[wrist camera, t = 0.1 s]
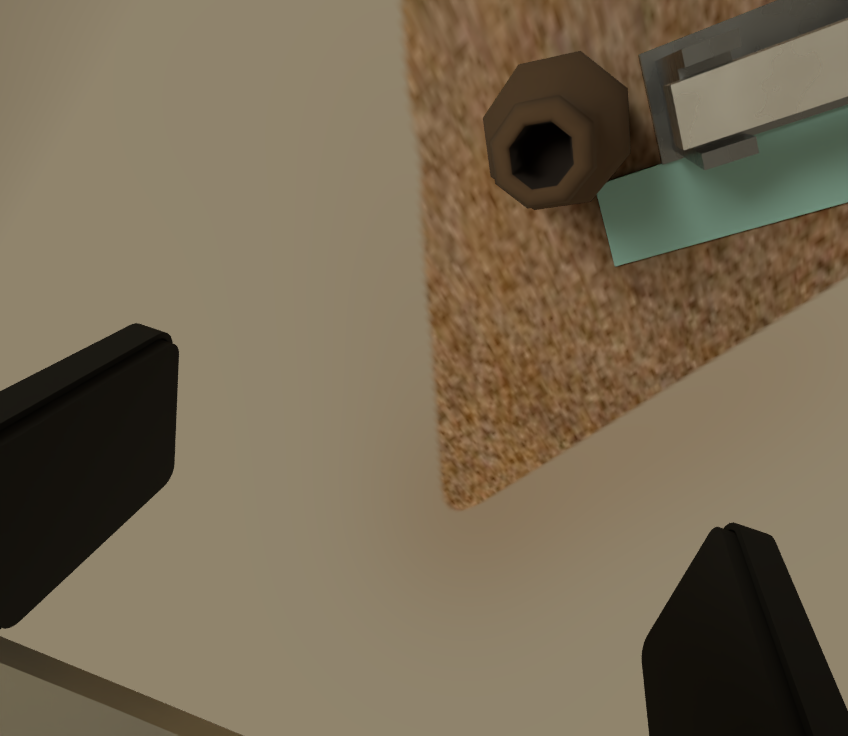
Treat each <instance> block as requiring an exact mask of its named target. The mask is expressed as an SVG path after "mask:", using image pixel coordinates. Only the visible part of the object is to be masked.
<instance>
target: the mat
mask: <svg viewBox="0 0 848 736" xmlns="http://www.w3.org/2000/svg"><path fill="white" fill-rule="evenodd" d="M754 136H756V137H757V144H758V150H759V153H758V154H755V155H752V156H749V157H745V158H742V159H739V160H736V161H733V162H730V163H726V164H723V165H720V166H717V167H714V168H711V169H707V170H703V169H702V168H700V167H699V166H697V165H696V164H694V163H692V162H691V161H689V160H688V159H686V158H682V159H679V160H676V161H673V162H670V163H667V164H664V165H662V164H658V165H655V166H652V167H649V168H646V169H643V170H640V171H637V172H634V173H631V174H628V175H625V176H622V177H619V178H616V179H613V180H610V181H607V182H606V184H605V185H604V186H603V187H602V188H601V190H600V191H599V192H598V193H597V197H598V201H599V205H600V209H601V213H602V217H603V221H604V225H605V229H606V233H607V237H608V241H609V245H610V249H611V253H612V257H613V261H614V265H615V266H619V265H623V264H626V263H630V262H633V261H637V260H641V259H644V258H648V257H651V256H655V255H659V254H662V253H666V252H670V251H673V250H677V249H680V248H684V247H688V246H691V245H695V244H698V243H702V242H706V241H709V240H713V239H717V238H720V237H724V236H727V235H731V234H735V233H738V232H742V231H745V230H749V229H753V228H756V227H760V226H764V225H767V224H771V223H774V222H778V221H782V220H785V219H789V218H792V217H796V216H800V215H803V214H807V213H811V212H814V211H818V210H821V209H825V208H829V207H832V206H836V205H839V204H843V203H847V202H848V105H845V106H842V107H838V108H835V109H832V110H829V111H826V112H823V113H820V114H817V115H814V116H811V117H808V118H805V119H802V120H799V121H796V122H792V123H789V124H786V125H783V126H780V127H777V128H774V129H771V130H768V131H765V132H762V133H759V134H756V135H754Z"/></svg>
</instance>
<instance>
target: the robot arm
mask: <svg viewBox="0 0 848 736" xmlns="http://www.w3.org/2000/svg"><path fill="white" fill-rule="evenodd" d="M178 363H179V351H178V347H177V346H176V345H175V344H172V339H171V336H170V335H169V334H168V333H165V332H162V331H159V330H156V329H153V328H151V327H148V326H145V325H142V324H137V323H135V324H132V325H129V326H127V327H125V328H124V329H122V330H120V331H118V332H116V333H114V334H112V335H110V336H108V337H106V338H104V339H102V340H100V341H98V342H96V343H94V344H92V345H90V346H88V347H87V348H84V349H82V350H80V351H79V352H76V353H75V354H72V355H71V356H69V357H67V358H65V359H63V360H61V361H59V362H57V363H55V364H53V365H51V366H49V367H47V368H45V369H43V370H41V371H39V372H37V373H35V374H33V375H31V376H30V377H28V378H26V379H23V380H22V381H20V382H18V383H16V384H14V385H12V386H10V387H8V388H6V389H4V390H2V391H0V629H1V628H10V627H12V626H14V625H15V624H17V623H18V622H19V621H20V620H22V619H23V617H25V616H26V615H27V614H28V613H29V612H30V611H31V610H32V609H33V608H34V607H35V606H37V604H39V603H40V602H41V601H42V600H43V599H44V598H45V597H46V596H47V595H48V594H49V593H50V592H51V591H52V590H53V589H55V588H56V587H57V586H58V585H59V584H60V583H61V582H62V581H63V580H64V579H65V578H66V577H68V576H69V575H70V574H71V573H72V572H73V571H74V570H75V569H76V568H77V567H78V566H79V565H80V564H81V563H82V562H83V561H85V560H86V559H87V558H88V557H89V556H90V555H91V554H92V553H93V552H94V551H95V550H96V549H97V548H99V547H100V546H101V544H103V543H104V542H105V541H106V540H107V539H108V538H109V537H110V536H111V535H112V534H113V533H115V532H116V531H117V530H118V529H119V528H120V527H121V526H122V525H123V524H124V523H125V522H126V521H127V520H128V519H130V518H131V516H133V515H134V514H135V513H136V512H137V511H138V510H139V509H140V508H141V507H142V506H143V505H144V504H146V503H147V502H148V501H149V500H150V499H151V498H152V497H153V496H154V495H155V494H156V493H157V492H158V491H159V490H161V488H163V487H164V486H165V485H166V483H167V482H168V481H169V479H170V477H171V475H172V473H173V469H174V461H175V460H174V457H175V435H176V410H177V387H178V385H177V384H178ZM642 669H643V677H644V688H645V698H646V707H647V718H648V727H649V736H848V711H847V708H846V706H845V704H844V701H843V699H842V696H841V694H840V692H839V689H838V687H837V685H836V682H835V680H834V678H833V675H832V673H831V671H830V668H829V666H828V663H827V661H826V659H825V656H824V654H823V652H822V649H821V647H820V645H819V642H818V640H817V638H816V635H815V633H814V631H813V628H812V626H811V624H810V622H809V619H808V617H807V614H806V612H805V610H804V607H803V605H802V603H801V600H800V598H799V596H798V593H797V591H796V589H795V586H794V584H793V582H792V579H791V577H790V575H789V573H788V570H787V568H786V565H785V563H784V561H783V558H782V556H781V553H780V551H779V549H778V546H777V544H776V542H775V540H774V538H773V537H772V536H771V535H769V534H766V533H763V532H760V531H757V530H754V529H751V528H749V527H745V526H742V525H740V524H736V523H729V524H728V525H726V526H725V527H724V529H723V528H720V527H715V528H713V529H712V530H711V532H710V533H709V534H708V536H707V538H706V539H705V541H704V543H703V544H702V546H701V548H700V549H699V551H698V553H697V554H696V556H695V558H694V559H693V561H692V562H691V564H690V566H689V567H688V569H687V571H686V572H685V574H684V576H683V577H682V579H681V581H680V582H679V584H678V586H677V587H676V589H675V591H674V592H673V594H672V595H671V597H670V599H669V601H668V602H667V604H666V605H665V607H664V609H663V610H662V612H661V614H660V615H659V617H658V619H657V620H656V622H655V624H654V625H653V627H652V629H651V630H650V632H649V634H648V635H647V637H646V639H645V642H644V645H643V650H642ZM0 736H243V735H241V734H238V733H236V732H233V731H231V730H229V729H226V728H224V727H221V726H219V725H217V724H214V723H212V722H209V721H207V720H204V719H202V718H199V717H197V716H194V715H192V714H190V713H187V712H185V711H182V710H180V709H178V708H175V707H173V706H170V705H168V704H166V703H163V702H161V701H158V700H156V699H153V698H151V697H148V696H145V695H143V694H141V693H139V692H136V691H134V690H131V689H129V688H126V687H124V686H121V685H119V684H116V683H114V682H112V681H109V680H107V679H104V678H102V677H99V676H97V675H94V674H92V673H89V672H87V671H84V670H82V669H80V668H77V667H75V666H72V665H70V664H67V663H65V662H62V661H60V660H57V659H55V658H52V657H50V656H47V655H45V654H43V653H40V652H38V651H35V650H33V649H30V648H28V647H25V646H23V645H20V644H18V643H15V642H13V641H10V640H8V639H6V638H3V637H1V636H0Z"/></svg>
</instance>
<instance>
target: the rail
mask: <svg viewBox="0 0 848 736" xmlns="http://www.w3.org/2000/svg"><path fill="white" fill-rule="evenodd" d="M663 88H664V93H665V98H666V103H667V108H668V113H669V118H670V122H671V127H672V132H673V137H674V142H675V146H677V147H679V148H680V149H682V150H687V149H690V148H693V147H696V146H699V145H702V144H705V143H708V142H711V141H714V140H717V139H720V138H723V137H726V136H729V135H732V134H735V133H738V132H741V131H744V130H747V129H750V128H753V127H756V126H759V125H762V124H765V123H769V122H772V121H775V120H778V119H781V118H784V117H787V116H790V115H793V114H796V113H799V112H802V111H805V110H808V109H811V108H814V107H817V106H820V105H823V104H826V103H829V102H832V101H835V100H838V99H841V98H844V97H847V96H848V18H845V19H843V20H840V21H837V22H835V23H832V24H829V25H826V26H824V27H821V28H818V29H816V30H813V31H810V32H807V33H805V34H802V35H799V36H797V37H794V38H791V39H789V40H786V41H783V42H780V43H778V44H775V45H772V46H770V47H767V48H764V49H762V50H759V51H756V52H753V53H751V54H748V55H745V56H743V57H740V58H737V59H735V60H732V61H729V62H726V63H724V64H721V65H718V66H716V67H713V68H710V69H707V70H705V71H702V72H699V73H697V74H694V75H691V76H689V77H686V78H683V79H680V80H678V81H675V82H672V83H670V84H667V85H664V86H663Z"/></svg>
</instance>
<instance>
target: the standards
mask: <svg viewBox="0 0 848 736" xmlns="http://www.w3.org/2000/svg"><path fill="white" fill-rule="evenodd" d="M845 18H848V0H777V1H774V2H772V3H769V4H767V5H764V6H762V7H759V8H757V9H754V10H751V11H749V12H746V13H744V14H741V15H739V16H736V17H734V18H731V19H729V20H726V21H723V22H721V23H718V24H716V25H713V26H711V27H708V28H706V29H703V30H700V31H698V32H695V33H693V34H690V35H688V36H685V37H683V38H680V39H678V40H675V41H672V42H670V43H667V44H665V45H662V46H660V47H657V48H655V49H652V50H650V51H647V52H644V53H642V54H639V55H638V56H639V61H640V65H641V70H642V75H643V80H644V84H645V89H646V94H647V98H648V103H649V108H650V112H651V117H652V122H653V126H654V131H655V136H656V141H657V145H658V150H659V155H660V159H661V164H662V165H664V164H667V163H670V162H673V161H676V160H679V159H682V158H686V159H688V160H689V161H691V162H692V163H694V164H696V165H697V166H699V167H700V168H702V169H703V170H707V169H711V168H714V167H717V166H720V165H723V164H726V163H730V162H733V161H736V160H739V159H742V158H745V157H749V156H752V155H755V154H758V153H759V150H758V144H757V137H756V136H754V135H756V134H759V133H762V132H765V131H768V130H771V129H774V128H777V127H780V126H783V125H786V124H789V123H792V122H796V121H799V120H802V119H805V118H808V117H811V116H814V115H817V114H820V113H823V112H826V111H829V110H832V109H835V108H838V107H842V106H845V105H848V96H847V97H844V98H841V99H838V100H835V101H832V102H829V103H826V104H823V105H820V106H817V107H814V108H811V109H808V110H805V111H802V112H799V113H796V114H793V115H790V116H787V117H784V118H781V119H778V120H775V121H772V122H769V123H765V124H762V125H759V126H756V127H753V128H750V129H747V130H744V131H741V132H738V133H735V134H732V135H729V136H726V137H723V138H720V139H717V140H714V141H711V142H708V143H705V144H702V145H699V146H696V147H693V148H690V149H687V150H682V149H680V148H679V147H677V146H675V142H674V137H673V132H672V127H671V122H670V118H669V113H668V108H667V103H666V98H665V93H664V88H663V86H664V85H667V84H670V83H672V82H675V81H678V80H680V79H683V78H686V77H689V76H691V75H694V74H697V73H699V72H702V71H705V70H707V69H710V68H713V67H716V66H718V65H721V64H724V63H726V62H729V61H732V60H735V59H737V58H740V57H743V56H745V55H748V54H751V53H753V52H756V51H759V50H762V49H764V48H767V47H770V46H772V45H775V44H778V43H780V42H783V41H786V40H789V39H791V38H794V37H797V36H799V35H802V34H805V33H807V32H810V31H813V30H816V29H818V28H821V27H824V26H826V25H829V24H832V23H835V22H837V21H840V20H843V19H845Z"/></svg>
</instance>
